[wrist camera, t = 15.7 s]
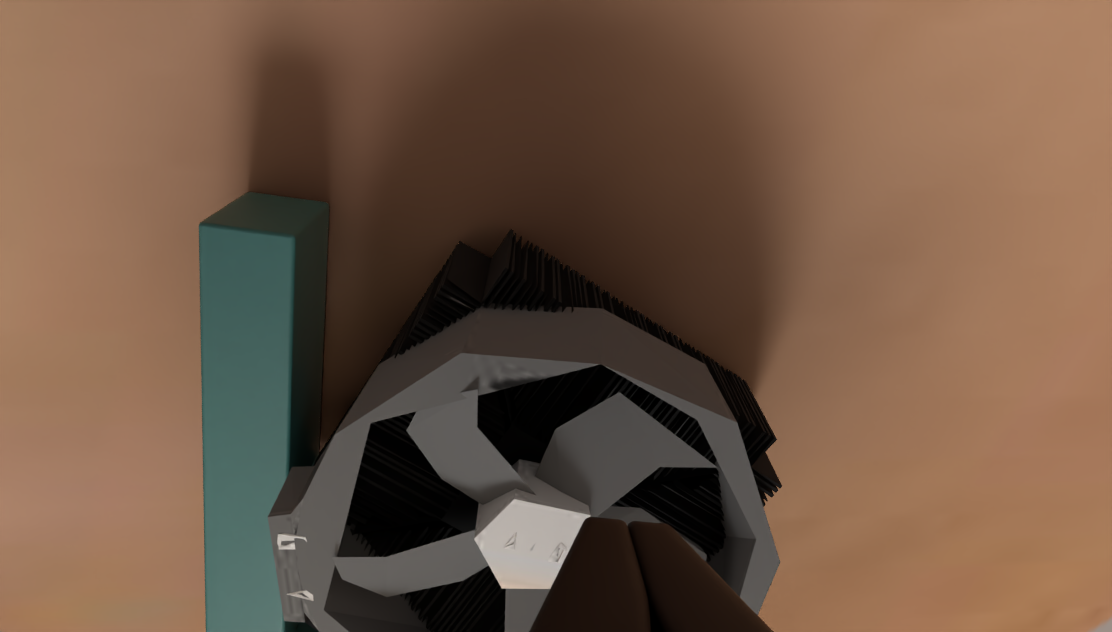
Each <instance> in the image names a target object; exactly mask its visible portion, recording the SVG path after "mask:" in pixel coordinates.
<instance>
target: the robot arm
mask: <svg viewBox="0 0 1112 632" xmlns="http://www.w3.org/2000/svg"><path fill="white" fill-rule="evenodd" d="M529 632H773V631H772V630H771V629H770V628H769V627H768V626H767V625H766V624H765V623H764V622H763V621H762V620H761V619H760V618H759V616H758V615H757V614H756V613H755V612H754V611H753V610H752V609H751V608H750V607H749V606H748V605H747V604H746V603H745V602H744V601H743V600H742V599H741V598H740V597H739V596H738V595H737V594H736V593H735V592H734V591H733V590H732V589H731V588H730V586H729V585H728V584H727V583H726V582H725V581H724V580H723V579H722V578H721V577H720V576H719V575H718V574H717V573H716V572H715V571H714V570H713V569H712V568H711V567H710V566H709V565H708V564H707V563H706V562H705V561H704V560H703V559H702V558H701V556H700V555H699V554H698V553H697V552H696V551H695V550H694V549H693V548H692V547H691V546H690V545H689V544H688V543H687V542H686V541H685V540H684V539H683V538H682V537H681V536H680V535H679V534H678V533H677V532H676V531H675V530H674V529H673V528H672V527H671V526H670V525H668V524H664V523H653V522H642V521H632V522H630V523H629V524H628V526H627V524H626V522H624V521H623V520H620V519H610V518H600V517H588V518H586V519H585V520H584V522H583V523H582V525H581V527H580V529H579V532H578V534H577V536H576V538H575V540H574V542H573V544H572V546H571V548H570V550H569V552H568V554H567V556H566V558H565V560H564V562H563V564H562V566H561V568H560V570H559V572H558V574H557V576H556V578H555V580H554V582H553V584H552V586H551V588H550V590H549V592H548V595H547V597H546V599H545V601H544V603H543V605H542V607H541V609H540V611H539V613H538V615H537V617H536V619H535V621H534V623H533V625H532V627H531V629H530V631H529Z"/></svg>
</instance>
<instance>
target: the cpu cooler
mask: <svg viewBox="0 0 1112 632" xmlns="http://www.w3.org/2000/svg"><path fill="white" fill-rule="evenodd" d="M513 232H514V230H512V229H511V230H510V231H509V233H508V234H507V236H506V237H505V239H504V240H503V242H502V243H501V245H500V246H499V248H498V249H497V251H496V252H495V254H494V255H493V257H492V258H489V257H487V256H485V255H484V254H482V253H480V252H478V251H477V250H475V249H473V248H471V247H470V246H468V245H466V244H464V243H462V242H461V241H459V244H457V245H456V248H455V249H454V250H453V252H452V255H450V257H449V259H447V262H446V265H444V266H443V268H442V271H440V272H439V273H438V274H437V276H436V278H435V279H434V281H433V283H431V285H430V287H429V288H428V289H427V292H426V293H425V295H424V297H422V299H421V301H420V302H419V303H418V305H417V306H416V308H415V310H414V311H413V312H412V314H411V316H410V317H409V318H408V321H406V323H405V325H404V326H403V327H402V330H401V331H400V333H399V334H398V335H397V338H396V339H395V340H394V341H393V343H392V345H391V347H390V348H389V349H388V350H387V352H386V353H385V355H384V357H383V359H381V361H380V362H379V364H378V366H377V367H376V369H375V370H374V372H373V374H371V376H370V378H369V379H368V380H367V383H365V385H364V387H363V388H362V390H361V392H360V393H359V395H358V397H356V400H355V401H354V402H353V404H352V405H351V406H350V408H349V409H348V411H347V413H346V414H345V415H344V417H343V418H342V420H341V421H340V423H339V425H338V427H337V428H336V430H335V431H334V432H333V434H332V435H331V437H330V439H329V440H328V442H327V443H326V444H325V446H324V448H323V449H322V450H321V452H320V454H319V455H318V456H317V458H316V460H315V462H314V464H313V466H307V467H292V468H291V470H290V472H289V474H288V476H287V478H286V481H285V483H284V485H283V487H282V489H281V491H280V493H279V495H278V497H277V499H276V501H275V503H274V505H273V507H272V509H271V511H270V513H269V515H268V523H269V529H270V536H271V542H272V548H273V554H274V561H275V567H276V573H277V580H278V586H279V592H280V599H281V605H282V611H283V618H284V621H290V622H305V623H307V624H308V625H309V626H311V627H312V628H314V629H315V630H316V631H318V632H529V631H530V629H531V627H532V625H533V623H534V621H535V619H536V617H537V615H538V613H539V611H540V609H541V607H542V605H543V603H544V601H545V599H546V597H547V595H548V592H549V590H550V588H551V586H552V584H553V582H554V580H555V578H556V576H557V574H558V572H559V570H560V568H561V566H562V564H563V562H564V560H565V558H566V556H567V554H568V552H569V550H570V548H571V546H572V544H573V542H574V540H575V538H576V536H577V534H578V532H579V529H580V527H581V525H582V523H583V522H584V520H585V519H586V518H588V517H600V518H610V519H620V520H623V521H624V522H626V524H627V526H628V524H629V523H630V522H632V521H642V522H653V523H664V524H668V525H670V526H671V527H672V528H673V529H674V530H675V531H676V532H677V533H678V534H679V535H680V536H681V537H682V538H683V539H684V540H685V541H686V542H687V543H688V544H689V545H690V546H691V547H692V548H693V549H694V550H695V551H696V552H697V553H698V554H699V555H700V556H701V558H702V559H703V560H704V561H705V562H706V563H707V564H708V565H709V566H710V567H711V568H712V569H713V570H714V571H715V572H716V573H717V574H718V575H719V576H720V577H721V578H722V579H723V580H724V581H725V582H726V583H727V584H728V585H729V586H730V588H731V589H732V590H733V591H734V592H735V593H736V594H737V595H738V596H739V597H740V598H741V599H742V600H743V601H744V602H745V603H746V604H747V605H748V606H749V607H750V608H751V609H752V610H753V611H754V612H755V613H756V614H757V615H758V613H759V611H760V608H761V606H762V604H763V601H764V599H765V597H766V594H767V592H768V590H769V587H770V585H771V582H772V580H773V578H774V575H775V573H776V571H777V568H778V566H779V564H780V560H779V557H778V554H777V550H776V547H775V544H774V541H773V537H772V534H771V531H770V527H769V524H768V521H767V518H766V514H765V511H764V508H763V507H764V506H765V502H764V500H763V499H765V500H766V501H767V498H766V496H765V493H766V494H768V495H769V496H770V497H773V496H774V494H773V492H772V490H773V491H774V492H777V491H778V489H777V487H779V488H781V487H782V485H781V483H780V481H779V479H778V477H777V475H776V473H775V471H774V469H773V467H772V465H771V463H770V461H769V459H768V456H767V454H766V452H765V451H766V450H767V449H768V448H769V447H770V446H771V445H772V444H773V443H774V442H775V441H776V440H777V439H776V437H775V435H774V433H773V431H772V430H771V428H770V426H769V424H768V422H767V420H766V418H765V416H764V415H763V413H762V411H761V409H760V407H759V405H758V403H757V401H756V399H755V398H754V396H753V394H752V392H751V390H750V388H749V386H748V384H747V383H746V381H745V380H744V379H743V380H742V379H741V378H740V377H737V375H736V374H733V373H732V372H731V371H730V370H729V371H728V369H727V370H726V371H724V369H723V367H722V366H721V367H720V365H719V363H717V362H716V363H715V362H714V360H713V359H711V360H710V357H708V356H707V357H706V358H705V356H704V354H703V355H702V354H701V352H700V351H699V350H697V352H695V350H694V347H693V348H692V349H691V347H690V345H687V343H685V345H684V346H683V344H682V341H681V339H680V340H678V338H677V336H676V335H674V336H673V334H672V333H671V332H669V333H668V334H667V332H666V330H665V329H664V330H663V327H662V326H658V324H657V323H656V322H655V323H654V325H653V324H652V321H651V320H650V321H648V318H646V319H645V318H644V315H643V314H642V313H641V314H639V311H637V310H636V311H635V312H633V309H632V308H631V309H630V310H629V306H628V305H627V307H626V308H625V309H624V306H623V302H622V301H621V303H620V304H619V303H618V299H617V298H616V299H615V298H614V296H613V298H612V299H611V296H610V293H609V292H608V291H607V292H606V293H605V290H604V291H603V293H602V294H601V290H600V286H599V285H597V286H596V287H595V283H594V282H591V283H590V280H589V281H588V282H587V284H586V283H585V276H583V275H581V277H580V274H579V273H578V272H576V273H575V270H574V269H571V271H570V267H569V266H568V265H567V266H566V267H565V269H564V270H563V264H562V263H561V264H560V263H559V260H558V259H556V260H555V257H554V256H551V258H550V259H549V261H548V254H547V255H546V256H545V258H544V250H543V249H541V251H540V252H539V247H538V246H537V245H536V247H535V248H534V250H533V251H532V243H531V245H530V246H529V248H528V241H527V243H526V244H525V245H524V247H523V248H522V249H521V239H522V236H521V237H520V239H519V240H518V242H517V243H516V233H515V235H514V236H513ZM776 486H777V487H776ZM764 492H765V493H764Z"/></svg>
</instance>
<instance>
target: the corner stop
mask: <svg viewBox="0 0 1112 632" xmlns="http://www.w3.org/2000/svg"><path fill="white" fill-rule="evenodd" d="M328 226H329V204H328V203H326V202H321V201H314V200H306V199H299V198H291V197H284V196H277V195H269V194H262V193H254V192H247V193H245V194H244V195H242V196H241V197H239V198H237V199H236V200H234V201H233V202H231V203H230V204H228V205H227V206H225V207H224V208H222V209H220V210H219V211H217V212H216V213H214V214H213V215H211V216H210V217H208V218H207V219H205V220H203V221H202V222H200V224H199V260H200V317H201V375H202V433H203V490H204V548H205V606H206V632H318V631H316V630H315V629H314V628H312V627H311V626H309V625H308V624H307V623H305V622H290V621H284V618H283V611H282V605H281V599H280V592H279V586H278V580H277V573H276V567H275V561H274V554H273V548H272V542H271V536H270V529H269V523H268V515H269V513H270V511H271V509H272V507H273V505H274V503H275V501H276V499H277V497H278V495H279V493H280V491H281V489H282V487H283V485H284V483H285V481H286V478H287V476H288V474H289V472H290V470H291V468H292V467H307V466H313V464H314V462H315V460H316V458H317V456H318V455H319V439H320V415H321V392H322V368H323V344H324V321H325V297H326V274H327V250H328Z"/></svg>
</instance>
